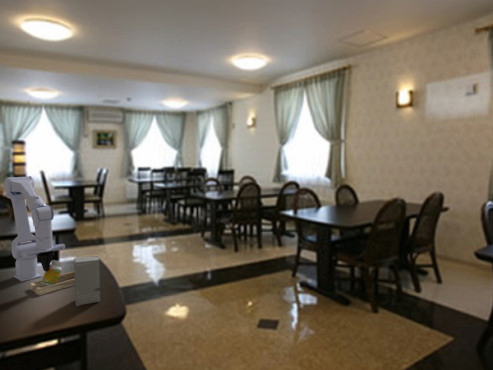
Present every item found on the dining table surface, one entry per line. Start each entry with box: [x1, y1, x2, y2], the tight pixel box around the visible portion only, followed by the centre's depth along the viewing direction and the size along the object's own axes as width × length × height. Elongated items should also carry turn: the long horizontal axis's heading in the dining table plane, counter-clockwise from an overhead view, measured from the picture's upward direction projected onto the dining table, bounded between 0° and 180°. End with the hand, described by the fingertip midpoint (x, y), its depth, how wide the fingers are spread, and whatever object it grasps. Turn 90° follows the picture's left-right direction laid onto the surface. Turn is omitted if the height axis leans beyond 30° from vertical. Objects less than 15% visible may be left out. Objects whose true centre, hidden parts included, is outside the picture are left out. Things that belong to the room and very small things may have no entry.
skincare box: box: [73, 255, 101, 307], centre depth 124 cm, size 8×7×16 cm
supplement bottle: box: [41, 259, 64, 286], centre depth 138 cm, size 5×5×10 cm
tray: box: [28, 270, 75, 296], centre depth 140 cm, size 10×20×2 cm, turn 141°
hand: (46, 270), depth 135 cm, fingers closed
